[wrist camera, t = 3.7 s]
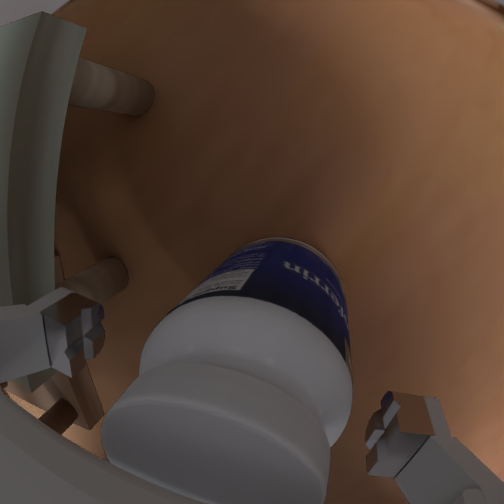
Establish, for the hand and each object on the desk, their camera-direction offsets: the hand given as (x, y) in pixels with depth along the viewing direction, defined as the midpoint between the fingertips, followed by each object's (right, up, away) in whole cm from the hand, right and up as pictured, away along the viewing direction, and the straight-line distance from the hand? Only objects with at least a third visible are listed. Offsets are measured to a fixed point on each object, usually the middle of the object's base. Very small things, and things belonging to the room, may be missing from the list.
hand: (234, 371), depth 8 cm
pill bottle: (+2, +1, +6) cm, 7 cm away
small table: (-10, +7, +7) cm, 14 cm away
